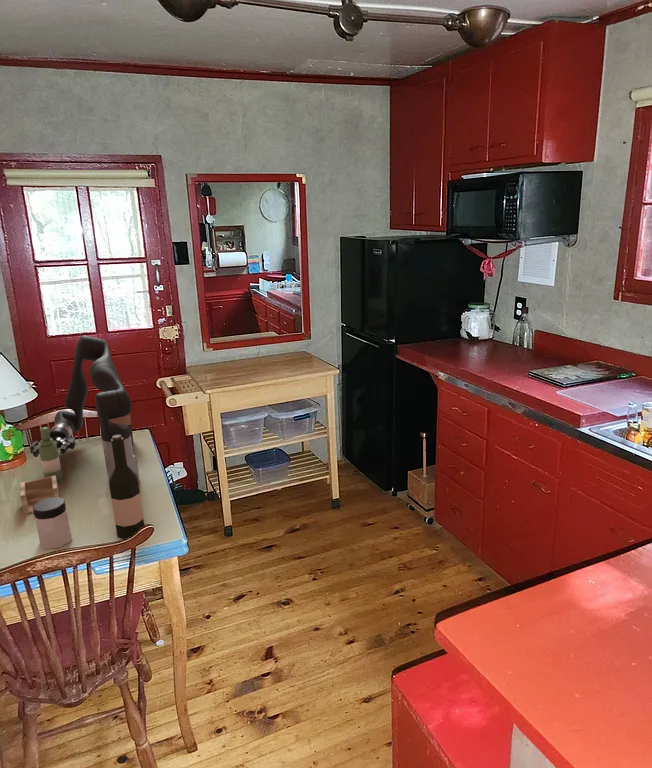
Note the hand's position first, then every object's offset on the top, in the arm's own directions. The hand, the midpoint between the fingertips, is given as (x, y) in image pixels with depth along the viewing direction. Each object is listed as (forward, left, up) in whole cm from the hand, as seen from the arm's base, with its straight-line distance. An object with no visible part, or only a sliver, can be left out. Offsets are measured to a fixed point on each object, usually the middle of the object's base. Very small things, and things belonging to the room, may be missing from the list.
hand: (48, 453), depth 196 cm
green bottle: (0, 0, -11) cm, 11 cm away
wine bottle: (-47, +21, -11) cm, 52 cm away
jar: (-29, +31, -11) cm, 44 cm away
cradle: (-8, +14, -11) cm, 19 cm away
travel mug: (-3, -35, -11) cm, 37 cm away
